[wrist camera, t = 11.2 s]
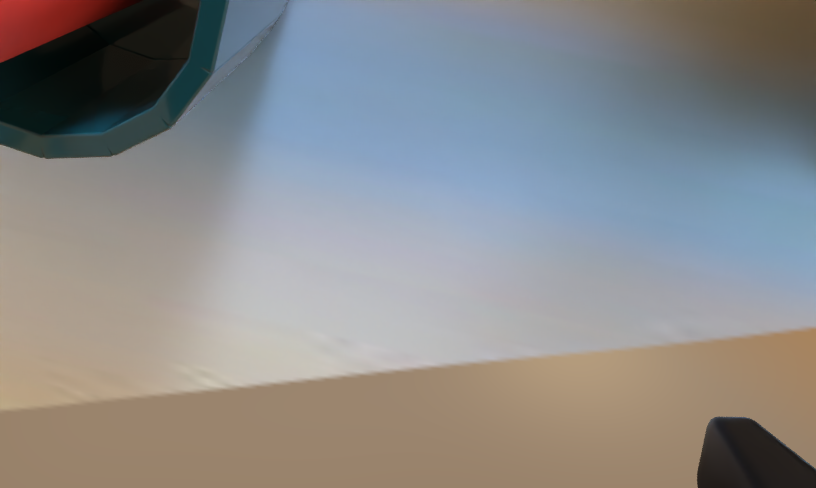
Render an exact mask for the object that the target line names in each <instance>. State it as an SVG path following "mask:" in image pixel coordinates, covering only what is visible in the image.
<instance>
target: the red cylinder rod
mask: <svg viewBox="0 0 816 488" xmlns="http://www.w3.org/2000/svg"><path fill="white" fill-rule="evenodd" d="M140 1H143V0H0V63H1V62H4V61H6V60H8V59H10V58H13V57H15V56H17V55H19V54H22V53H24V52H26V51H29V50H31V49H33V48H35V47H38V46H40V45H42V44H45V43H47V42H49V41H51V40H54V39H56V38H58V37H61V36H63V35H65V34H67V33H70V32H72V31H74V30H76V29H79V28H81V27H83V26H86V25H88V24H90V23H92V22H95V21H97V20H99V19H102V18H104V17H106V16H108V15H111V14H113V13H115V12H118V11H120V10H122V9H124V8H127V7H129V6H131V5H133V4H136V3H138V2H140Z"/></svg>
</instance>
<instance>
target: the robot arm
mask: <svg viewBox="0 0 816 488" xmlns="http://www.w3.org/2000/svg"><path fill="white" fill-rule="evenodd" d="M697 484H698V488H816V469H815V468H814V467H812V466H811V465H810V464H809V463H807V462H806V461H805V460H804V459H802V458H801V457H800V456H799V455H797V454H796V453H795V452H794V451H792V450H791V449H790V448H788V447H787V446H786V445H785V444H783V443H782V442H781V441H780V440H778V439H777V438H776V437H775V436H773V435H772V434H771V433H770V432H768V431H767V430H766V429H765V428H763V427H762V426H761V425H759V424H758V423H757V422H755V421H754V420H752V419H750V418H746V417H715V418H713V419H711V420H710V422H709V423H708V426H707V429H706V434H705V438H704V444H703V448H702V453H701V457H700V462H699V467H698V473H697Z"/></svg>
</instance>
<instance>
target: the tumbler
mask: <svg viewBox="0 0 816 488" xmlns="http://www.w3.org/2000/svg"><path fill="white" fill-rule="evenodd" d="M287 2H288V0H143V1H140V2H138V3H136V4H133V5H131V6H129V7H127V8H124V9H122V10H120V11H118V12H115V13H113V14H111V15H108V16H106V17H104V18H102V19H99V20H97V21H95V22H92V23H90V24H88V25H86V26H83V27H81V28H79V29H76V30H74V31H72V32H70V33H67V34H65V35H63V36H61V37H58V38H56V39H54V40H51V41H49V42H47V43H45V44H42V45H40V46H38V47H35V48H33V49H31V50H29V51H26V52H24V53H22V54H19V55H17V56H15V57H13V58H10V59H8V60H6V61H4V62H1V63H0V145H3V146H6V147H10V148H13V149H16V150H19V151H22V152H25V153H28V154H31V155H34V156H37V157H40V158H46V159H54V158H84V157H111V156H113V155H118V154H120V153H122V152H124V151H126V150H128V149H130V148H132V147H134V146H136V145H138V144H140V143H142V142H145V141H147V140H149V139H151V138H153V137H155V136H157V135H159V134H161V133H163V132H165V131H167V130H169V129H171V128H172V127H173V126H174V125H175V124H176V123H177V122H179V121H180V120H181V119H182V118H183V117H184V116H185V115H186V114H187V113H188V112H189V111H190V110H191V109H192V108H194V107H195V106H196V105H197V104H198V103H199V102H200V101H201V100H202V99H203V98H204V97H205V96H206V95H207V94H209V93H210V92H211V91H212V90H213V89H214V88H215V87H216V86H217V85H218V84H219V83H220V82H221V81H222V80H224V79H225V78H226V77H227V76H228V75H229V74H230V73H231V72H232V71H233V70H234V69H235V68H236V67H237V66H239V65H240V64H241V63H242V62H243V61H244V60H245V59H246V58H247V57H248V56H249V55H250V54H251V53H252V52H253V51H254V50H255V48H256V47H257V46H258V45H259V43H260V42H261V41H262V40H263V39H264V38H265V37H266V35H267V34H268V33H269V32H270V31H271V30H272V28H273V27H274V25H275V24H276V22H277V21H278V19H279V18H280V16H281V15H282V13H283V11H284V8H285V6H286V4H287Z"/></svg>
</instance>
